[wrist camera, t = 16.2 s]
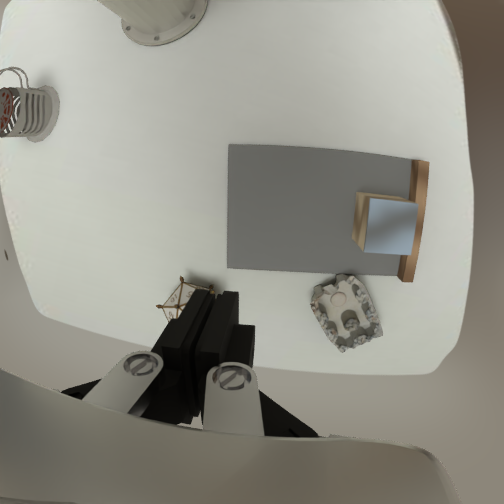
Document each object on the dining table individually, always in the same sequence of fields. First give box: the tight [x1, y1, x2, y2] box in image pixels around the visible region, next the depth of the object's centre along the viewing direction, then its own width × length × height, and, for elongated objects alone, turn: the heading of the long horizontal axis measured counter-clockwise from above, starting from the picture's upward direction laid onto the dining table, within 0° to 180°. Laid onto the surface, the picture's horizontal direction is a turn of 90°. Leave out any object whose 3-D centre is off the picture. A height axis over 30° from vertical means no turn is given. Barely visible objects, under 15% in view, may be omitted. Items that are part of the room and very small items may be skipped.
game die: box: [156, 276, 216, 322], centre depth 38 cm, size 9×8×10 cm
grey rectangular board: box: [227, 145, 412, 276], centre depth 37 cm, size 16×24×1 cm
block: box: [352, 192, 419, 255], centre depth 33 cm, size 6×6×6 cm
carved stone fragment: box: [310, 273, 383, 353], centre depth 38 cm, size 11×8×4 cm
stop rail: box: [397, 160, 429, 282], centre depth 35 cm, size 16×2×2 cm, turn 178°
